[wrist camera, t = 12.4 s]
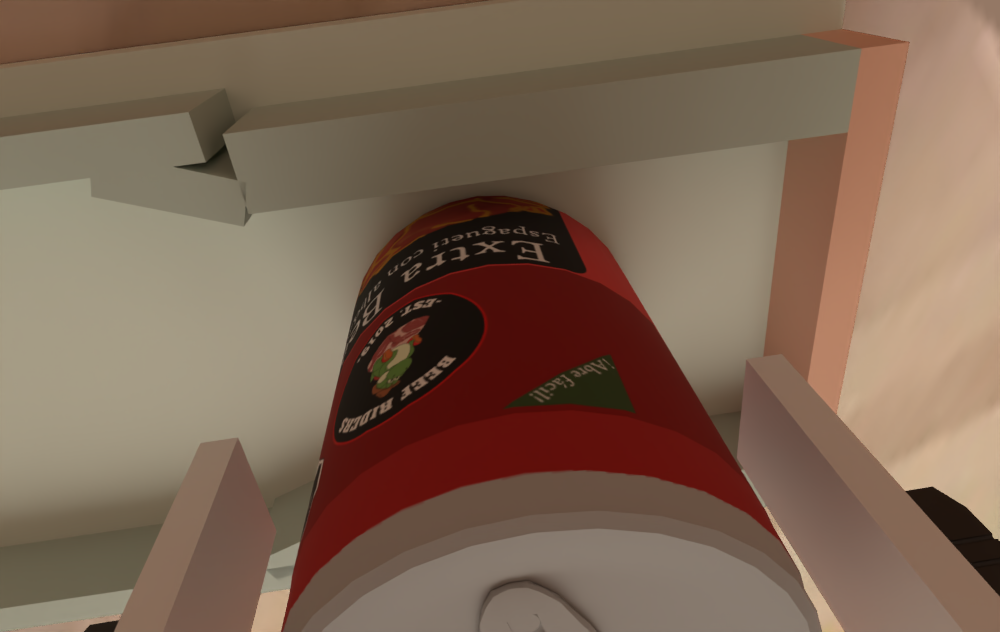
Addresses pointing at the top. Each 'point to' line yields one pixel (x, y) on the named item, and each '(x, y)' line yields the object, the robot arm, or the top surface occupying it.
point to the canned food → (525, 453)
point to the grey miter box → (391, 231)
